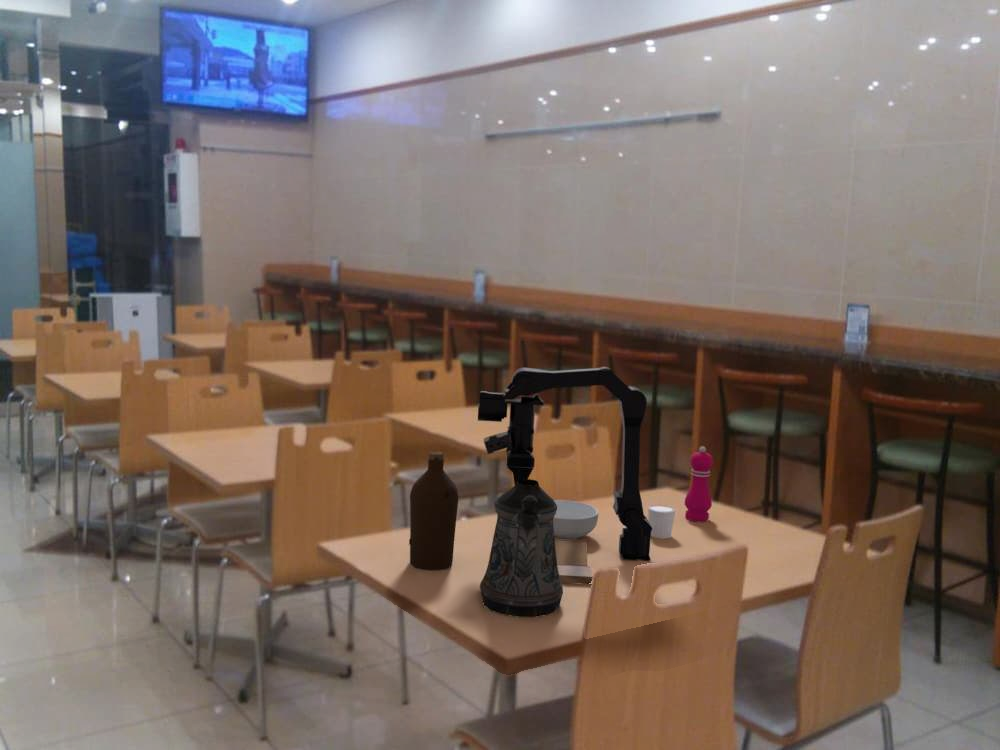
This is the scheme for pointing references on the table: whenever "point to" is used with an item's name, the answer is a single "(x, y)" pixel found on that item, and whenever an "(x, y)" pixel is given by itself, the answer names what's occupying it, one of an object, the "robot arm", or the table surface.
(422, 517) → the olive oil
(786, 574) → the table surface
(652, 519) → the shot glass
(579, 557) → the plank
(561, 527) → the cereal bowl
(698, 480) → the pepper mill
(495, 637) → the table surface
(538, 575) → the ornate coffee pot
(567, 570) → the laid board
